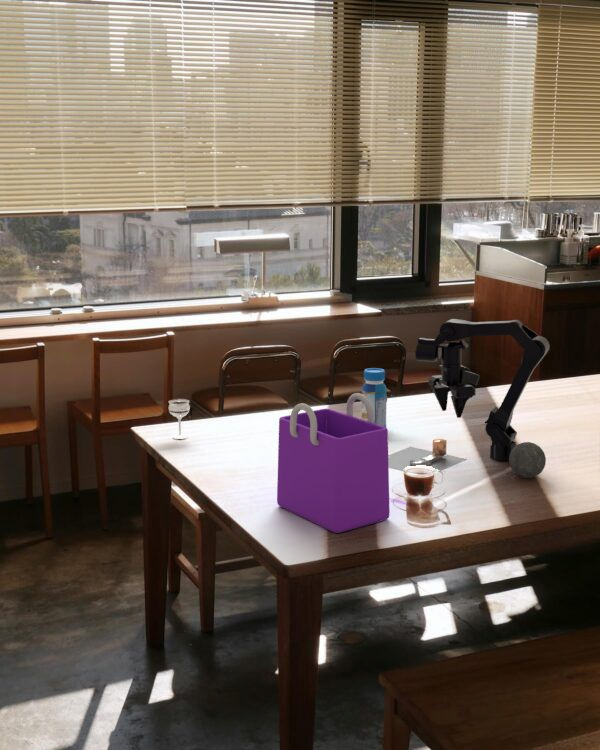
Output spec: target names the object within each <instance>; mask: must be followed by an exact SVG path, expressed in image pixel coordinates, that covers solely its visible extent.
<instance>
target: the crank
mask: <svg viewBox="0 0 600 750" xmlns="http://www.w3.org/2000/svg"><path fill="white" fill-rule="evenodd" d="M447 444H448V443H447V440H446V439H444V438H434V439H433V440H432V451H433V454H432V455H430V456H428V457H425V458H423V459H412V460H410V466H416V465H426V466H431V463H432V462H434V461H436V460H439V459H441V458H443V456H444V455H446V454H447Z"/></svg>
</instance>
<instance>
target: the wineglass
mask: <svg viewBox="0 0 600 750" xmlns="http://www.w3.org/2000/svg"><path fill="white" fill-rule="evenodd" d="M189 403H190V400H189V399H185V398H174V399H171V400H168V404H169V405H168V412H169V414H170V415H172V416H173V417H176V419H177V420H178V432H179V434H178V436H179V435H181V433H182V432H181V431H182V430H181V429H182V428H181V427H182V425H181V423H182V421H181V420H182V419H183V417H185V416H187V415H188V414H189V413H190V408H191V405H190V404H189Z"/></svg>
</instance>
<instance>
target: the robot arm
mask: <svg viewBox="0 0 600 750" xmlns="http://www.w3.org/2000/svg"><path fill="white" fill-rule="evenodd" d="M485 336H487V337H489V336H491V337H492V336H511V337H512V338H513V339H514V341H515V342H516V343H517V344H518V345H519V347H521V348H522V349H523V354H522V357H521V363H520V366H519V369H518V370H517V372H516V374H515V376H514V378H513V380H512V383H511V384H510V386H509V388H508V389H507V392H506V394H505V396H504V398H503V399H502V402H501V405H500V406H499V407H497V406H494V407H493V408H492V409H491V410H490V411H489V415H488V418H487V419H486V421H485V422H484V424H485V432H486V435H488V437H489V438H490V439H491V444H490V448H489V458H490V459H492V460H494V461H496V462H500V463H509V456H510V453H511V451H512V449H513V448H514V447H515V446H516V445H517V444H516V443H517V442H516V441H514V440H515V439H516V437H517V435H518V432H517V431H516V429H514V427H513V426H511V423H512V419H513V416H514V410H515V407H516V406H517V404H518V402H519V400H520V399H521V398H520V397H522V394H523V392H524V390H525V388H526V386H527V385H528V382H529V381H530V378H531V376H532V374H533V373H534V370H535V369H536V367H537V366H538V365H539V363H541V361H542V360H543V359H544V357H545V356H546V355H547V354H548V352H549V351H550V346H551V345H550V341H548V340H547V338H546V337H544V336H541V335H538V334H537V333H536V332H535V331H534V330H532V329H531V328H529V327H528V326H526V325H525V324H524V323H522V321H521V320H519V319H513V320H500V321H495V320H494V321H478V322H477V321H476V322H475V321H469V320H464V319H458V318H451V319H449V320H447V321H446V322H444V323H442V324H441V325H440V327H439V333H438V334H437V336H436V337H435V338H425V337H419V338H418V339H417V344H416V348H415V349H416V350H415V351H414V354H415V359H416V361H417V362H418V361H419V362H432V363H434V362H435V363H436V362H438V359H441V364H439V365H438V369H439V370H440V371H441V374H438V375H431V376H430V377H429V378H428V387H429V386H430V390H432V392H433V394H434V396H435V398H436V400H437V403H438V404H439V407H440V409H441V410H442V412H444V411H447V406H448V400H449V399H448V397H449V392H450V393H451V395H450V398H451V402H452V405H453V406H452V407H453V409H454V413H455V416H456V418H457V419H458V418H459V419H460V418H461V417H462V415H463V412H464V409H465V406H466V403H467V401H468V400H469V399H471V398H473V397H475V396H476V394H477V392H476V391H477V389H476V387H475V386H477V385H478V383H479V380H480V374H477V373H474V372H472V371H470V368H468V367H466V366H464V365H462V350H465V349H467V348H468V347H469V344H468V343H467V342H465V340H464V339H466V338H470V337H485ZM459 340H460V341H459ZM445 342H448V343H445ZM468 383H469V384H468ZM471 384H472V385H471ZM473 385H474V386H473Z"/></svg>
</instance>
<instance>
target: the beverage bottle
mask: <svg viewBox="0 0 600 750" xmlns="http://www.w3.org/2000/svg"><path fill="white" fill-rule="evenodd" d="M385 379H386V370H385V369H383V368H379V367H378V368H377V367H370V368H365V369H364V371H363V380H364V381H365V382H364V383H363V385H362V388H361V394H363V395H364V396H366V397H367V398H368V400H369V401H370V403H371V405H372V407H373V411H374V424H377V425H380V426H383V427H386V428H387V402H388V396H387V392H388V389H387V386H386V384H385V383H384V381H385ZM361 419H362V420H365V421H368V417H367V410H366V407H365V405H364V404H363V402H362V401H361Z"/></svg>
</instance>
